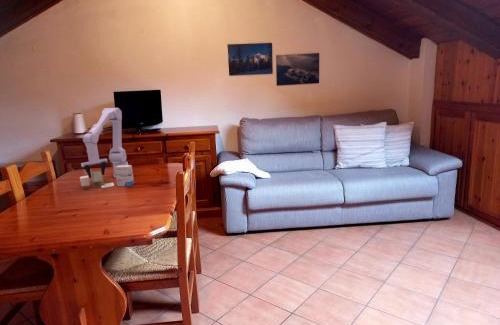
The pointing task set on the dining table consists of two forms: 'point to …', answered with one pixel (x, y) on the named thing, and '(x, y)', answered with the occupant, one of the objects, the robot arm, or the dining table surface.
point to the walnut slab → (97, 183)
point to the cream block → (84, 180)
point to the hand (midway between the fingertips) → (96, 176)
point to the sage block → (96, 176)
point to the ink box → (124, 175)
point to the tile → (108, 185)
